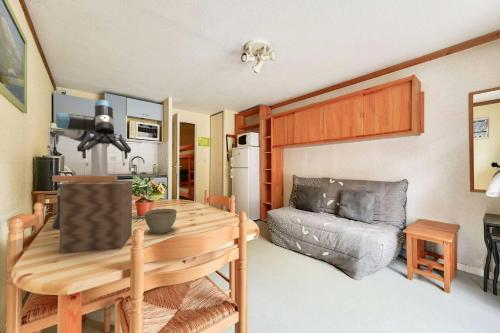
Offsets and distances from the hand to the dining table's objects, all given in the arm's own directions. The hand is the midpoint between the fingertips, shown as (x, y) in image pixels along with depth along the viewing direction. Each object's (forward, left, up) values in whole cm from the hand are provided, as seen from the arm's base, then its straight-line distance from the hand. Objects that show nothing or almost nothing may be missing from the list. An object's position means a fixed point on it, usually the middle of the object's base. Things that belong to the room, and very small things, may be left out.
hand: (106, 164), depth 94 cm
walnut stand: (-5, +1, -36) cm, 37 cm away
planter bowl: (+6, +26, -36) cm, 45 cm away
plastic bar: (-13, -1, -8) cm, 15 cm away
